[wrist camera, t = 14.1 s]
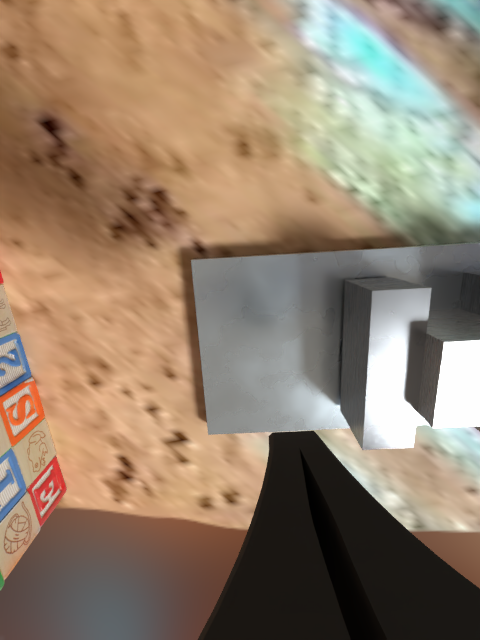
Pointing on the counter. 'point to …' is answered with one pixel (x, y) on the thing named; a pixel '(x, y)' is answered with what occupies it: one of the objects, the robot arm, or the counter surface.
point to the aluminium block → (451, 370)
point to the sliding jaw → (383, 359)
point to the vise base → (301, 327)
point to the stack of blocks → (22, 450)
